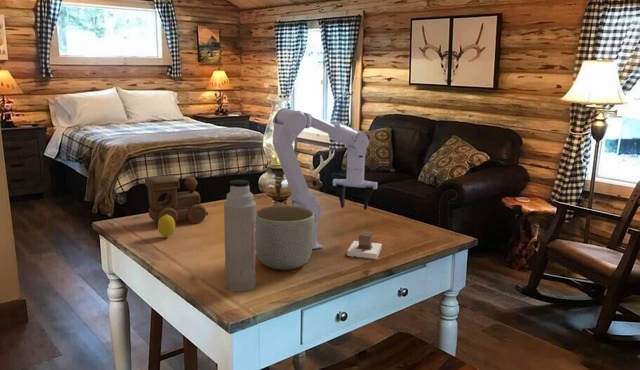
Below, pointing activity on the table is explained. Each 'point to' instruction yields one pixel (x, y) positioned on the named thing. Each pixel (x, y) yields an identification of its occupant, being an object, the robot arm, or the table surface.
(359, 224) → the table surface
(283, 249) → the planter
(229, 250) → the thermos bottle
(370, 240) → the post
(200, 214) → the wooden toy train
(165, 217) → the lemon
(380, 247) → the sleeve block
